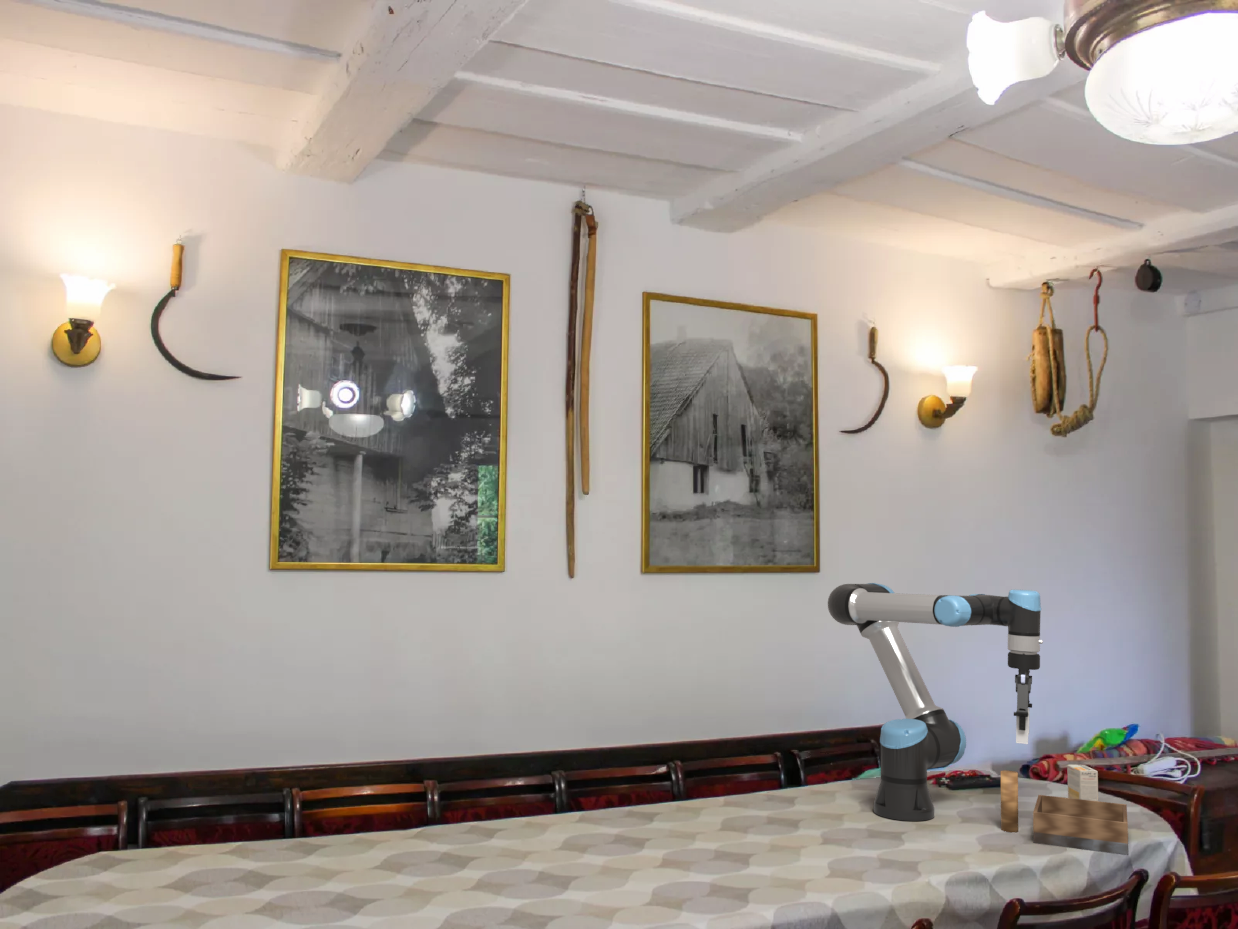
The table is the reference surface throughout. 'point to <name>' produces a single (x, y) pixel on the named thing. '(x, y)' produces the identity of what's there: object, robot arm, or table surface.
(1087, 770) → the supplement box
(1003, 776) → the dowel
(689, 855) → the table surface
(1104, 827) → the box
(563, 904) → the table surface
